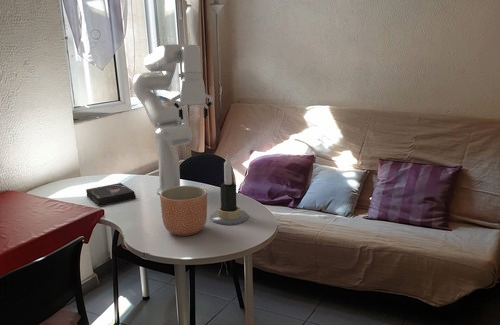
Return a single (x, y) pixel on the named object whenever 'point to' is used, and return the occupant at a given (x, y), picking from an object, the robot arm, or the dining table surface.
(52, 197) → the dining table surface
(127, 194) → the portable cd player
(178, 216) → the planter
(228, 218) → the candle holder
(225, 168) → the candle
